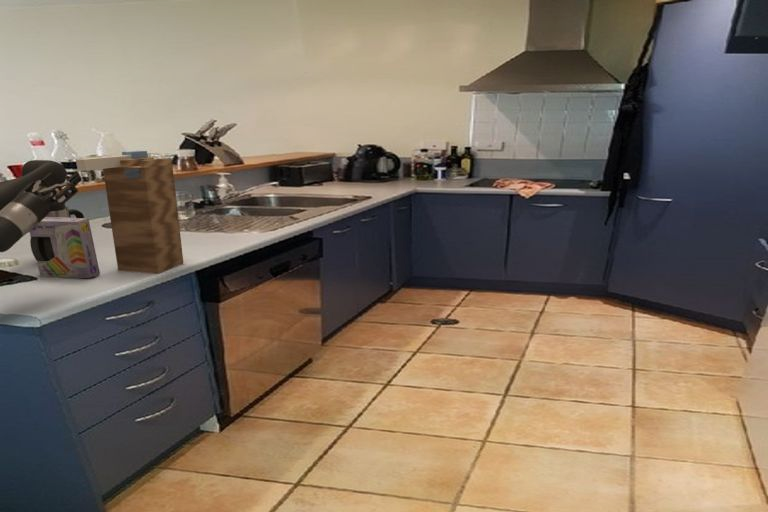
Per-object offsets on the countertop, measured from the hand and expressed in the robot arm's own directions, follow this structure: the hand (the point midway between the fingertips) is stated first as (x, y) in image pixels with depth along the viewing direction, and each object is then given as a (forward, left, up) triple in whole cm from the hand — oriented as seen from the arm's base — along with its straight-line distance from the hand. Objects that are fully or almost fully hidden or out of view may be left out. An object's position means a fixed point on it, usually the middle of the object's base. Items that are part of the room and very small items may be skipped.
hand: (66, 175), depth 134 cm
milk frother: (-10, +62, -31) cm, 71 cm away
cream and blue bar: (+12, +12, +1) cm, 17 cm away
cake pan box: (-5, +15, -31) cm, 35 cm away
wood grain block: (+18, +13, -31) cm, 38 cm away
